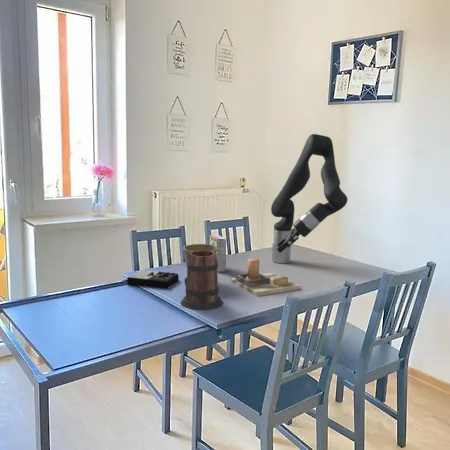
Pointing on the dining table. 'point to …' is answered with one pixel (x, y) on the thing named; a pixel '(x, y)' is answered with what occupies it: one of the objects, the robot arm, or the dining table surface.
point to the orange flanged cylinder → (253, 269)
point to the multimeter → (153, 279)
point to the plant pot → (197, 249)
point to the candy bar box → (219, 251)
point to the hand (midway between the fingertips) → (278, 248)
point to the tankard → (202, 282)
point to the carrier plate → (265, 284)
